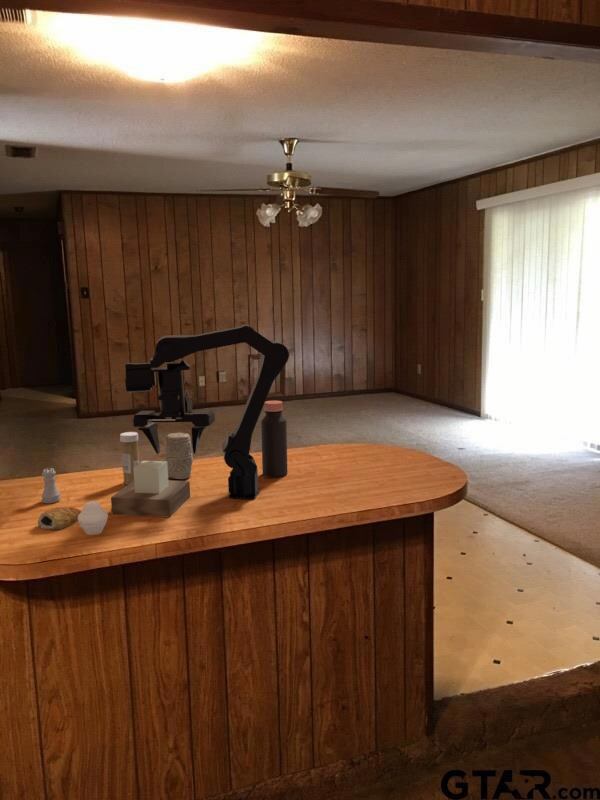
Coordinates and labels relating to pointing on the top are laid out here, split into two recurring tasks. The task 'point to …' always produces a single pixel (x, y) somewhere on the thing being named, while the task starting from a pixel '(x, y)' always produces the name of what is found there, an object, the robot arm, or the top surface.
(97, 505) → the muffin
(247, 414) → the robot arm
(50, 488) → the rook chess piece
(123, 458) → the sprinkles bottle
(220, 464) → the top surface
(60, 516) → the pastry
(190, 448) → the carving
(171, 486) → the walnut base
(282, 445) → the vinegar
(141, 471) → the sage cube
